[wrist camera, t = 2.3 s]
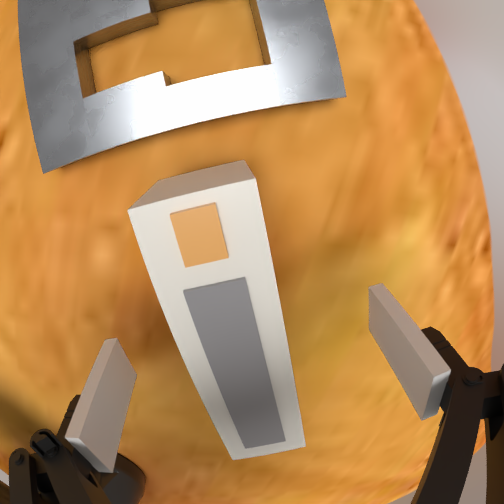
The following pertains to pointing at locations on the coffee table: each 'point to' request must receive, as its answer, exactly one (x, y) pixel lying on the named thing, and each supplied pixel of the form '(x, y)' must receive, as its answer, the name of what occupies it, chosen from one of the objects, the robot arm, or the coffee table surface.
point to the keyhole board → (159, 74)
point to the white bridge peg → (223, 303)
